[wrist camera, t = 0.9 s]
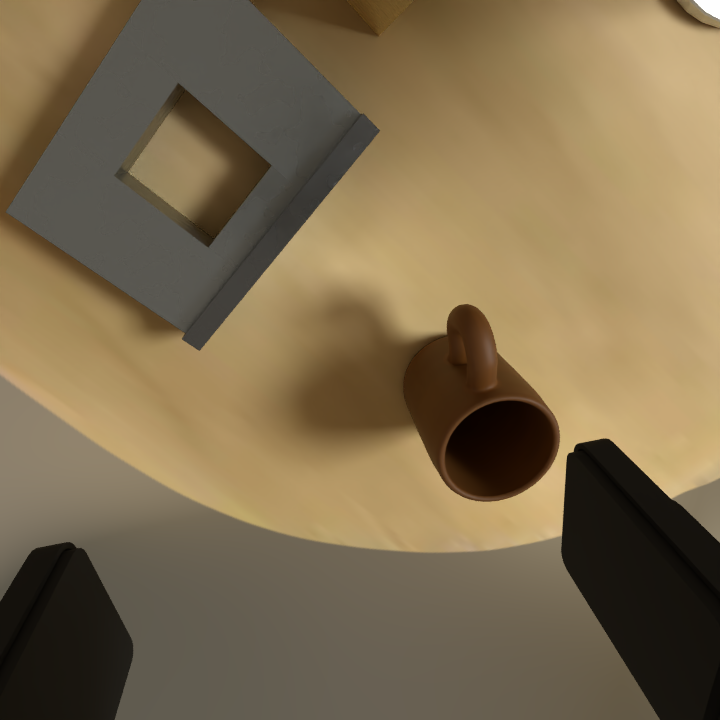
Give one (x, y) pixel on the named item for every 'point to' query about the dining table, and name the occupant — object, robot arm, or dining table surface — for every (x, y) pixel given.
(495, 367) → the mug
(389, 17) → the tan cardboard box
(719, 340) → the dining table surface
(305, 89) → the jig
